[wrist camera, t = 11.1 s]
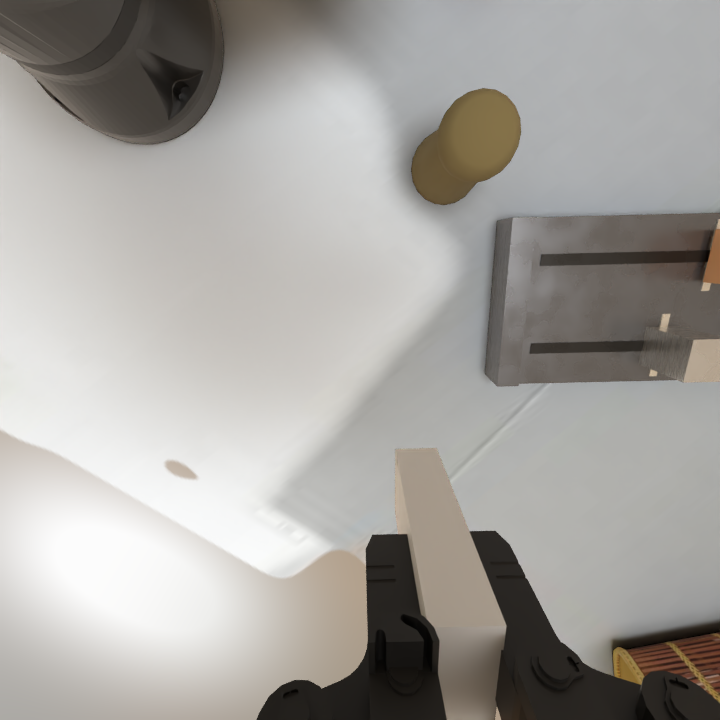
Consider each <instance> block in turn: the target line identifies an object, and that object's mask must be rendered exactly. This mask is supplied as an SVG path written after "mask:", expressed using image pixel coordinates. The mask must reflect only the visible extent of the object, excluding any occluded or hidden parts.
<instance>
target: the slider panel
mask: <svg viewBox="0 0 720 720" xmlns="http://www.w3.org/2000/svg"><path fill="white" fill-rule="evenodd" d="M716 229H720V213H702V214H661V215H620V216H579V217H539V218H537V217H517V218H508V219H504V220H499V221H497V228H496V241H495V253H494V266H493V278H492V291H491V303H490V316H489V328H488V341H487V353H486V366H485V375H486V376H487V377H488V378H489V379H490V380H491V381H492V382H493V383H494V384H495V385H496V386H518V385H519V384H525V383H568V382H611V381H653V380H678V381H681V382H720V284H715V283H705V282H703V280H704V276H705V271H706V267H707V263H708V259H709V255H710V251H711V247H712V243H713V239H714V235H715V230H716Z"/></svg>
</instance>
